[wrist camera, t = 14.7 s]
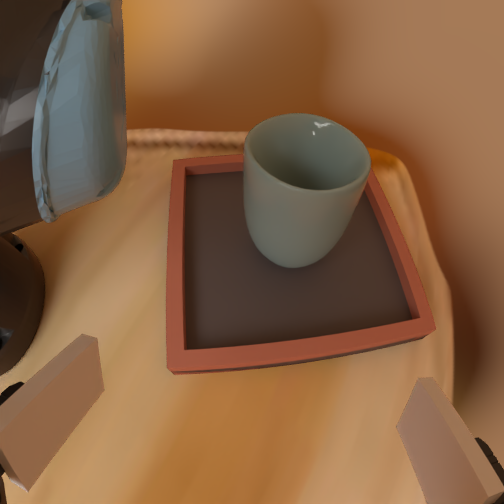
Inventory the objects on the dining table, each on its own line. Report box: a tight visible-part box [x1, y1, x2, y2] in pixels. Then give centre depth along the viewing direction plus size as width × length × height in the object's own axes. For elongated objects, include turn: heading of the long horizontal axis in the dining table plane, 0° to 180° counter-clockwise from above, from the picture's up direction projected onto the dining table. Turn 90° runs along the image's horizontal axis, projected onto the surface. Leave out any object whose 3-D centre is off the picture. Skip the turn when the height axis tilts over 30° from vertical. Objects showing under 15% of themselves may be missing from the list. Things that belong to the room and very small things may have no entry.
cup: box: [243, 113, 371, 268], centre depth 22 cm, size 8×8×10 cm
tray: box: [166, 154, 436, 375], centre depth 26 cm, size 20×20×2 cm
